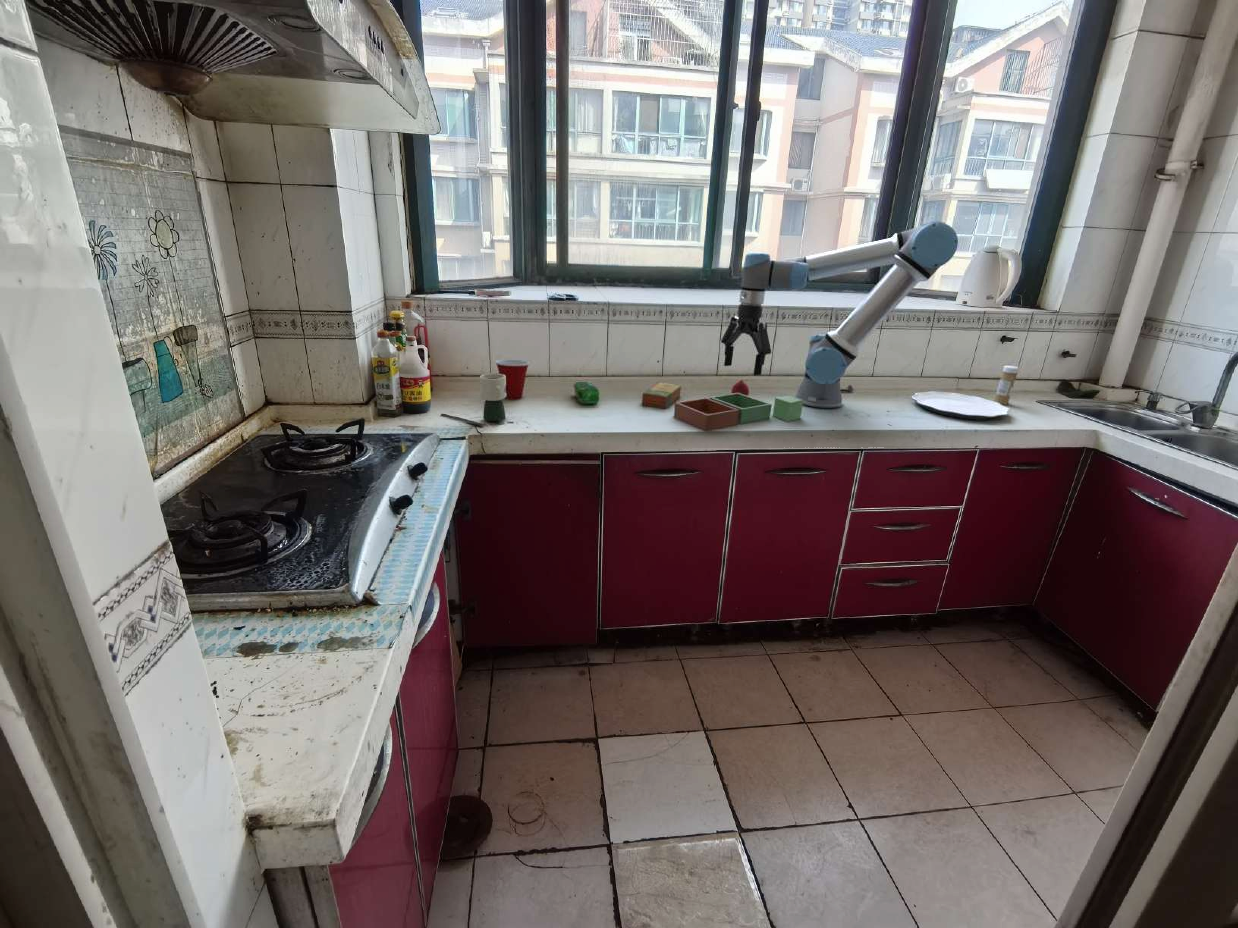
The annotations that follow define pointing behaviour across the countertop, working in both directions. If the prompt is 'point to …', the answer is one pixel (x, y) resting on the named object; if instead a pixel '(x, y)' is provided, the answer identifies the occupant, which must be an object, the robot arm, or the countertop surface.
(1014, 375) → the sprinkles bottle
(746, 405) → the green bin
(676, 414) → the brown bin
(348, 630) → the countertop surface
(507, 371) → the plastic cup
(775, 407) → the green block
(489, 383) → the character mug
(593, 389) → the snack package
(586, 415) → the countertop surface
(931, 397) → the plate
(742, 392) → the onion
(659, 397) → the carton
